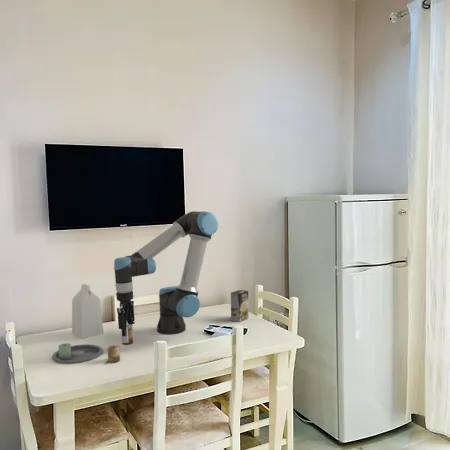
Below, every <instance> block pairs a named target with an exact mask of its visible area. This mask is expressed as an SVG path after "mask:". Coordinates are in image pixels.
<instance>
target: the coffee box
mask: <svg viewBox="0 0 450 450" xmlns="http://www.w3.org/2000/svg"><path fill="white" fill-rule="evenodd" d="M249 314H250V313H249V290H243V289H237V290H235V291H231V292H230V321H232V322H238V323H241V322H243V321H246V320H248V319H249Z"/></svg>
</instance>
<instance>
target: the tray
mask: <svg viewBox="0 0 450 450" xmlns="http://www.w3.org/2000/svg"><path fill="white" fill-rule="evenodd" d="M102 354H103V348H102V347H101V346H100V345H96V344H85V343H83V344H76V345H71V359H70V360H61V359H59V349H58V350H57V351H55V352H53V354H52V356H51V357H52V361H54V363H58V364H61V365H72V364H74V365H75V364H82V363H86V362H91V361H93V360H95V359H98V358H99V357H100V356H101V355H102Z"/></svg>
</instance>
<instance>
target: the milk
mask: <svg viewBox="0 0 450 450" xmlns="http://www.w3.org/2000/svg"><path fill="white" fill-rule="evenodd" d="M80 287H81V288H80V289H79V291H78V292H77V293H76V294H75V295H74V296H73V298H72V299H71V300H72V301H71V307H72V308H71V315H72V316H71V334H72V335H73V336H75V337H77V338H80V339H82V340H84V339H88V338H91V337H92V338H93V337H96V336H99V335H103V334H104V325H103V315H102V304H101V303H102V302H101V299H100V297H99V296H98V295H96V294H95V293H94V292H92V290H91V286H90V285H89V284H86V283H82V284H81V286H80Z"/></svg>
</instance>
